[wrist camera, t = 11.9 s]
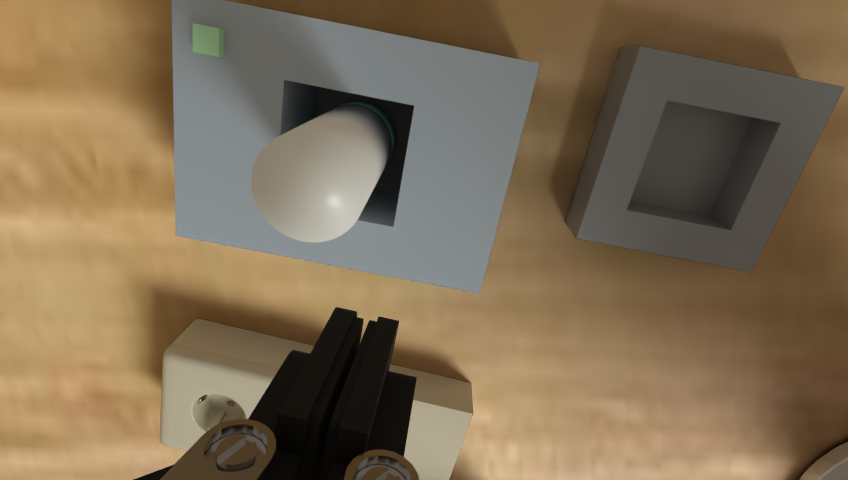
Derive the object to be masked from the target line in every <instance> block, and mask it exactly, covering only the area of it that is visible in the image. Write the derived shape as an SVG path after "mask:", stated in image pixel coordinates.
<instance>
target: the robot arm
mask: <svg viewBox="0 0 848 480" xmlns="http://www.w3.org/2000/svg"><path fill="white" fill-rule="evenodd" d="M398 324H399V321H397V320H392V319H388V318H383V317H378V320H377V322H376V321H371V320H369V323H368V325H367V328H366V330H365V333H364V335H363V338H362V340H361V343H360V338H361V332H362V327H363V319H362V318H357V312H356V311H352V310H347V309H342V308H338V307H336V308H335V310H334V311H333V313H332V315H331V317H330V319H329V320H328V322H327V324H326V326H325V328H324V330H323V331H322V333H321V335H320V337H319V339H318V340H317V342H316V344H315V346H314V348H313V350H312V351H311V353H306V352H301V351H297V350H292V351H291V352H290V353H289V354H288V356H287V357H286V359H285V361H284V362H283V364H282V365H281V367H280V369H279V370H278V372H277V373H276V375H275V377H274V378H273V380H272V381H271V383H270V385H269V386H268V388H267V389H266V391H265V393H264V394H263V396H262V397H261V399H260V401H259V402H258V404H257V405H256V407H255V409H254V410H253V412H252V413H251V415H250V417H249V418H248V419H234V420H230V421H225V422H222V423H220V424H218V425H216V426H214V427H212V428H211V429H210V430H208V431H207V432H206V433H205V434H203V435H202V436H201V437H200V438H199V439H198V441H197V442H196V443H195V444H194V445H193V446H192V447H191V448H190V449H189V450H188V451H187V452H186V453H185V454H184V455H183V456H182V457H181V458H180V459H179V460H178V461H177V462H176V463H175V464H174V465H172V466H169V467H166V468H164V469H161V470H158V471H156V472H153V473H150V474H148V475H145V476H142V477H140V478H137V479H134V480H419V477H418V473H417V471H416V470H415V468H414V466H413V465H412V464H411V463H410V462H409V461H408V460H407V459H406V458H405V457H404V453H405V447H406V441H407V435H408V428H409V422H410V416H411V410H412V404H413V398H414V392H415V386H416V380H417V377H414V376H409V375H405V374H400V373H396V372H391V371H389V368H390V363H391V358H392V353H393V349H394V344H395V339H396V334H397V329H398ZM359 344H360V346H359ZM799 480H848V441H847V442H846V443H844V444H842V445H840V446H838V447H836V448H834V449H832V450H831V451H829V452H828V453H827V454H825V455H824V456H822V457H821V458H819V459H818V460H817V461H816V462H815V463H814V464H813V465H811V466H810V467H809V468H808V469H807V470H806V471H805V472H804V474H803V475H802V476H801V478H800V479H799Z"/></svg>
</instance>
